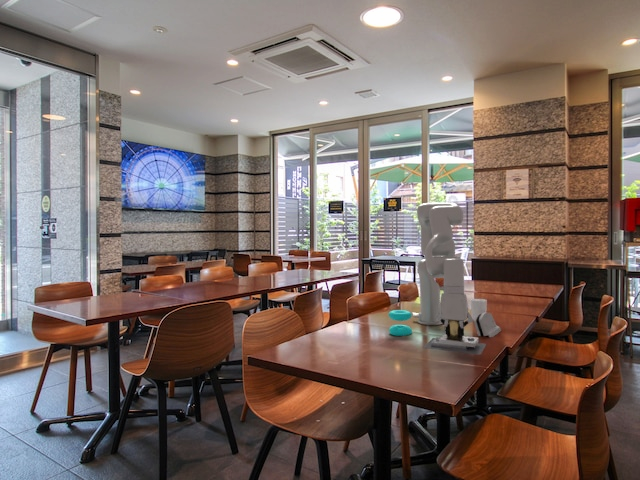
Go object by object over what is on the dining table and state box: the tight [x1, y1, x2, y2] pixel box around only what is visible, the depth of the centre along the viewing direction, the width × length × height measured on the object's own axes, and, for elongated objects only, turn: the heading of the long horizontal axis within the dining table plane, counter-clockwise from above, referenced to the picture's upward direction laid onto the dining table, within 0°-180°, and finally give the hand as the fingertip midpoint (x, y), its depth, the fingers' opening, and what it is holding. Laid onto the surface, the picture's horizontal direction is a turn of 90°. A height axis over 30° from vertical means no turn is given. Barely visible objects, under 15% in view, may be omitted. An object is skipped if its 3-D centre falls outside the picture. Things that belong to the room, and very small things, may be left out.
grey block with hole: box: [431, 333, 479, 350], centre depth 158 cm, size 16×9×4 cm, turn 60°
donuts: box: [388, 309, 413, 337], centre depth 180 cm, size 10×10×10 cm
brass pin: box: [449, 320, 460, 340], centre depth 158 cm, size 4×4×10 cm
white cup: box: [469, 298, 488, 321], centre depth 206 cm, size 8×8×10 cm
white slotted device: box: [473, 312, 502, 338], centre depth 178 cm, size 17×5×10 cm, turn 142°
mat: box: [422, 337, 487, 356], centre depth 158 cm, size 21×16×1 cm
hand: (454, 336), depth 158 cm, fingers closed on brass pin, 4 cm apart
